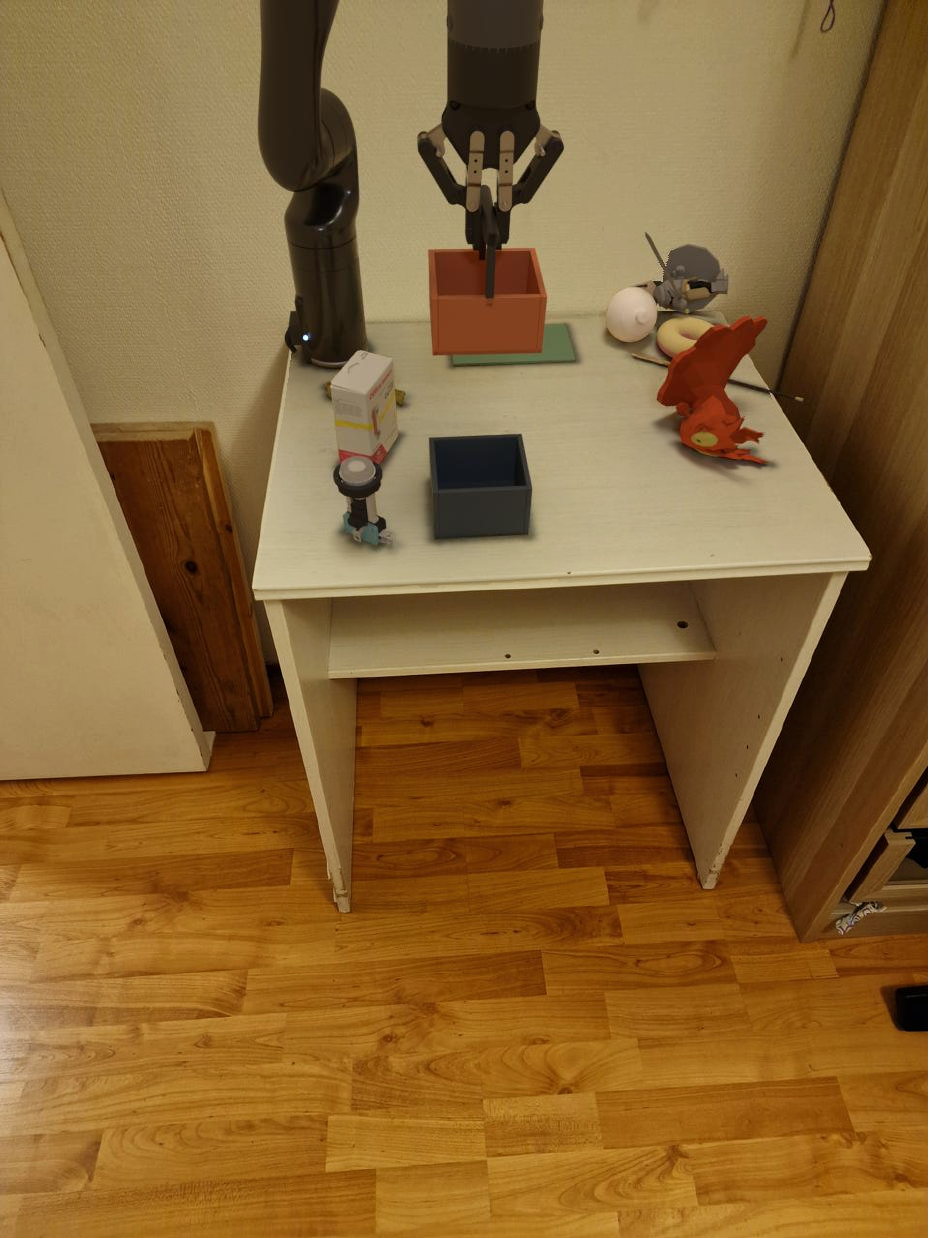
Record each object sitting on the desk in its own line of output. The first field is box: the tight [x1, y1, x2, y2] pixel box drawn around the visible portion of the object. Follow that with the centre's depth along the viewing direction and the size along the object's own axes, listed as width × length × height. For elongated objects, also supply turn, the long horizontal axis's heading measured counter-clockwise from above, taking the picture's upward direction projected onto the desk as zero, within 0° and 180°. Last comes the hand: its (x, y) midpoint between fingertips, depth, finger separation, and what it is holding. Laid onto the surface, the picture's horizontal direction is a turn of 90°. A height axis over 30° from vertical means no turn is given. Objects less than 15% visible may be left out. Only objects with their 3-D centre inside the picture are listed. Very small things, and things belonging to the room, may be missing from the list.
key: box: [324, 380, 406, 406], centre depth 111 cm, size 12×1×5 cm
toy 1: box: [628, 231, 729, 315], centre depth 119 cm, size 20×11×15 cm
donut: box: [656, 316, 715, 359], centre depth 118 cm, size 10×5×9 cm
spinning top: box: [605, 286, 658, 343], centre depth 120 cm, size 8×8×12 cm
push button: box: [332, 456, 395, 546], centre depth 89 cm, size 7×5×10 cm
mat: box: [451, 323, 577, 367], centre depth 120 cm, size 18×10×1 cm, turn 94°
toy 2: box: [655, 315, 771, 465], centre depth 101 cm, size 13×18×15 cm
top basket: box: [427, 184, 548, 356], centre depth 79 cm, size 11×10×12 cm
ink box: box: [330, 350, 399, 466], centre depth 99 cm, size 9×5×12 cm, turn 160°
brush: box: [631, 353, 804, 403], centre depth 115 cm, size 1×1×25 cm
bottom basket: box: [428, 433, 533, 540], centre depth 94 cm, size 11×10×7 cm
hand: (486, 246), depth 77 cm, fingers closed on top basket, 1 cm apart
